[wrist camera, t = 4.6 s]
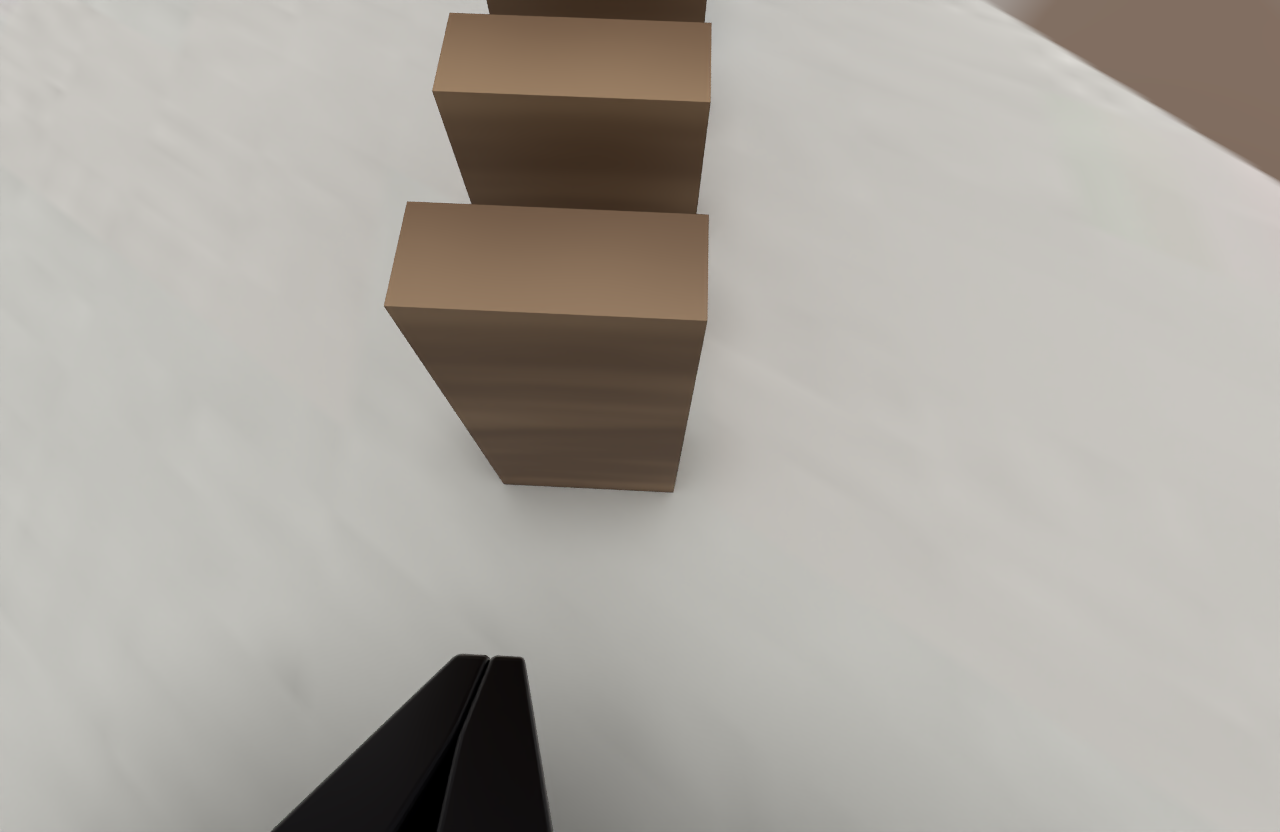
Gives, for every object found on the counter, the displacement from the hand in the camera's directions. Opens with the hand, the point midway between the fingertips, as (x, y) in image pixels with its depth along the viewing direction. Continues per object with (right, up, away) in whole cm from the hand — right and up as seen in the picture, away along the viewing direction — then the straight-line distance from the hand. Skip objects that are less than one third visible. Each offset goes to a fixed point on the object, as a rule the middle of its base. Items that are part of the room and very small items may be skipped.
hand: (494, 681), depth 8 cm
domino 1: (0, +2, +12) cm, 12 cm away
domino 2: (+1, +6, +13) cm, 15 cm away
